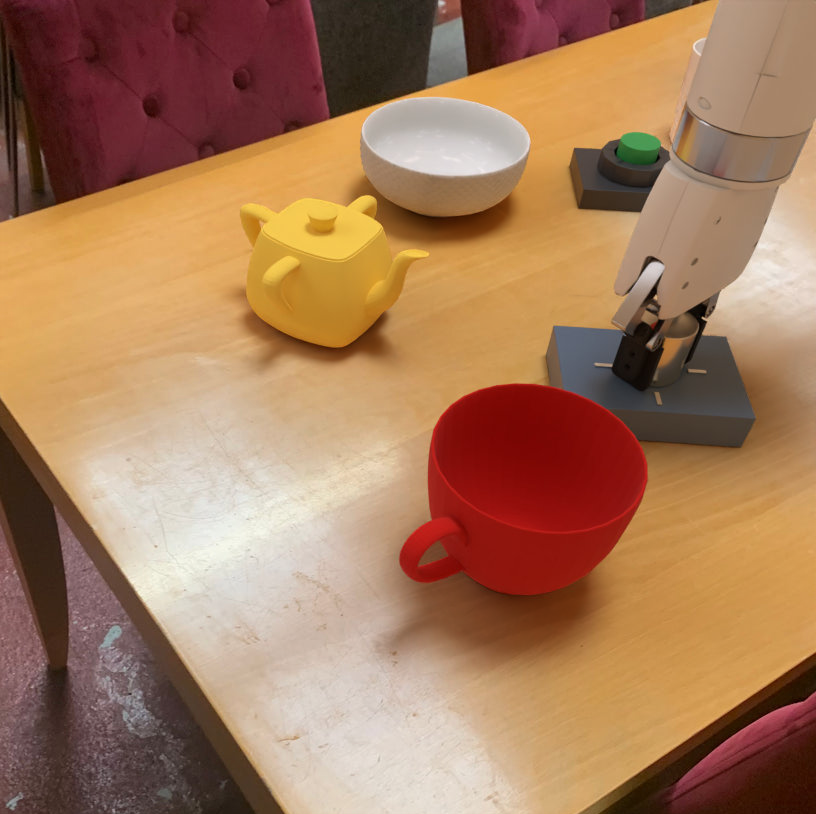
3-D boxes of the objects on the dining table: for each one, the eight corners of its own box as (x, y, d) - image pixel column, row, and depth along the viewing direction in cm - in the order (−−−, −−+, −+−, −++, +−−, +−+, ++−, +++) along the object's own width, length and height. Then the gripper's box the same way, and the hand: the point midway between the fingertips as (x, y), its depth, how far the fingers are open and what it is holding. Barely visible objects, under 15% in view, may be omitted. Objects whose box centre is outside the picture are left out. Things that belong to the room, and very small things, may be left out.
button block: (671, 172, 97) (683, 136, 94) (687, 215, 91) (700, 178, 88) (569, 166, 98) (577, 130, 95) (578, 209, 92) (588, 172, 89)
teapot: (387, 270, 84) (396, 166, 76) (416, 355, 75) (431, 247, 68) (242, 280, 83) (237, 175, 75) (255, 368, 74) (251, 259, 66)
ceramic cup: (330, 568, 60) (335, 464, 53) (506, 462, 67) (533, 356, 60) (464, 705, 53) (493, 607, 46) (645, 571, 60) (695, 467, 53)
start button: (652, 149, 93) (657, 132, 92) (659, 168, 90) (664, 151, 89) (613, 147, 93) (618, 130, 92) (619, 165, 91) (623, 149, 89)
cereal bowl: (465, 262, 85) (476, 193, 80) (324, 206, 92) (327, 138, 86) (546, 191, 94) (561, 125, 89) (413, 144, 101) (420, 80, 95)
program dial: (645, 344, 72) (664, 293, 68) (690, 372, 70) (712, 320, 66) (609, 365, 70) (627, 313, 66) (654, 394, 68) (675, 342, 64)
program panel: (713, 365, 75) (727, 334, 73) (741, 447, 68) (757, 417, 66) (545, 354, 76) (553, 323, 73) (557, 434, 69) (566, 403, 67)
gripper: (760, 85, 62) (675, 306, 75) (604, 156, 54) (541, 386, 68) (863, 124, 58) (753, 350, 71) (709, 206, 51) (620, 439, 64)
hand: (650, 365), depth 70 cm, fingers closed on program dial, 4 cm apart
